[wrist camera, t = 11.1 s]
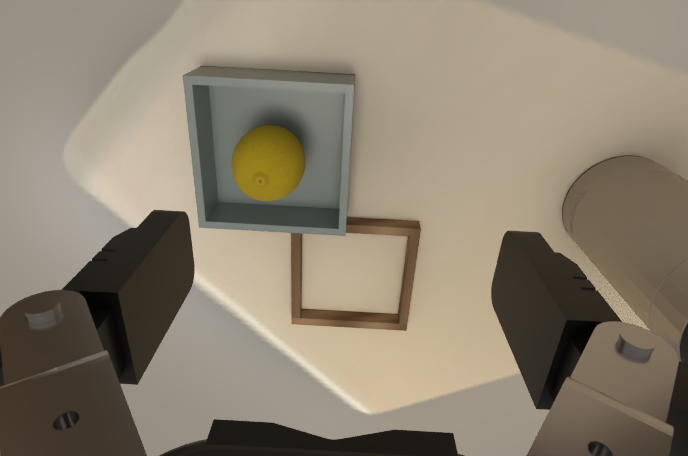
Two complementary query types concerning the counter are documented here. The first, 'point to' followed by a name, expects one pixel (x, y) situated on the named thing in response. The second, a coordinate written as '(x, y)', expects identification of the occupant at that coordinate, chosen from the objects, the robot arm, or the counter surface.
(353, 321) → the tray
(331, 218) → the bin
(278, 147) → the lemon
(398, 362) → the counter surface
